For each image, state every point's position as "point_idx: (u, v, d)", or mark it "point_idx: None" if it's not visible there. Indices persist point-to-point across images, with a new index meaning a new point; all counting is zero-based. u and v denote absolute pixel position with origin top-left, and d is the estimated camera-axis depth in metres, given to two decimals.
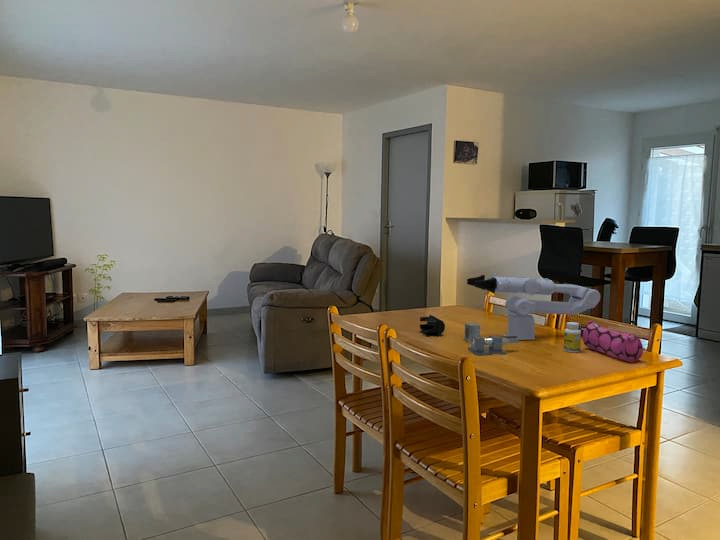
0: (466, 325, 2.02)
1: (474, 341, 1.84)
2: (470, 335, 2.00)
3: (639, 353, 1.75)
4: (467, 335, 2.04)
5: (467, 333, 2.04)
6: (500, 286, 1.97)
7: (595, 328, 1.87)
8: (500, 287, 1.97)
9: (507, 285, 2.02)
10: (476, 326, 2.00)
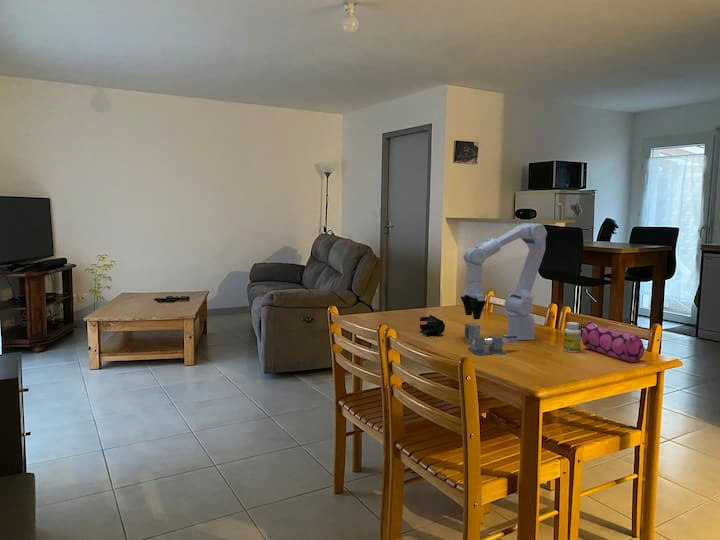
0: (466, 325, 2.02)
1: (474, 341, 1.84)
2: (470, 335, 2.00)
3: (640, 353, 1.75)
4: (467, 335, 2.04)
5: (467, 333, 2.04)
6: (481, 298, 1.94)
7: (595, 328, 1.87)
8: (482, 298, 1.94)
9: (476, 283, 1.97)
10: (476, 326, 2.00)
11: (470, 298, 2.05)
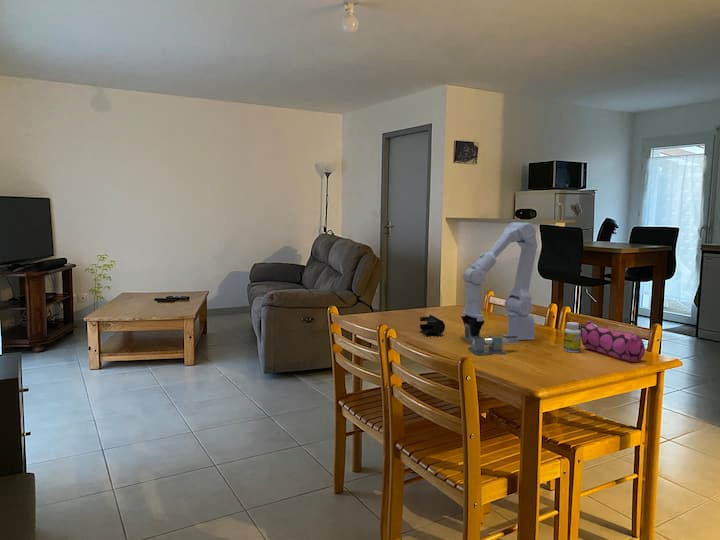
0: (466, 325, 2.02)
1: (474, 341, 1.84)
2: (470, 335, 2.00)
3: (641, 353, 1.75)
4: (467, 335, 2.04)
5: (467, 333, 2.04)
6: (480, 318, 1.94)
7: (595, 328, 1.87)
8: (481, 318, 1.94)
9: (476, 303, 1.98)
10: None
11: (471, 318, 2.04)
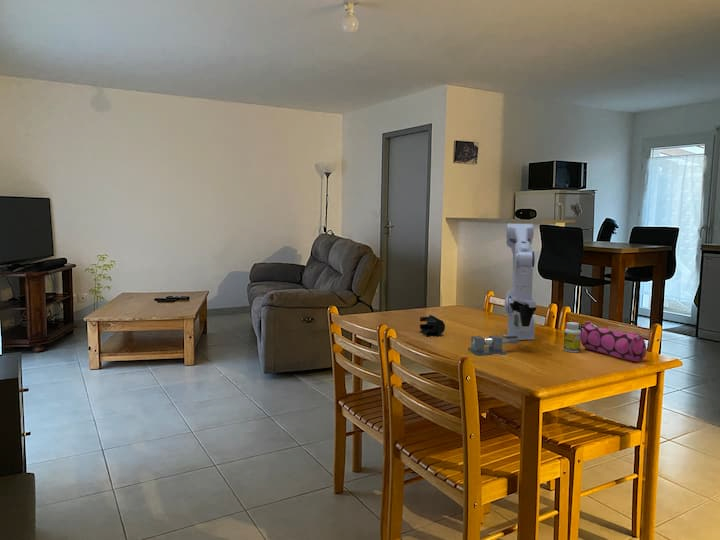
0: (515, 312, 1.90)
1: (474, 341, 1.84)
2: (520, 323, 1.87)
3: (644, 352, 1.76)
4: (516, 323, 1.91)
5: (516, 321, 1.91)
6: (533, 304, 1.82)
7: (595, 329, 1.87)
8: (534, 304, 1.82)
9: (527, 288, 1.85)
10: None
11: (520, 305, 1.92)
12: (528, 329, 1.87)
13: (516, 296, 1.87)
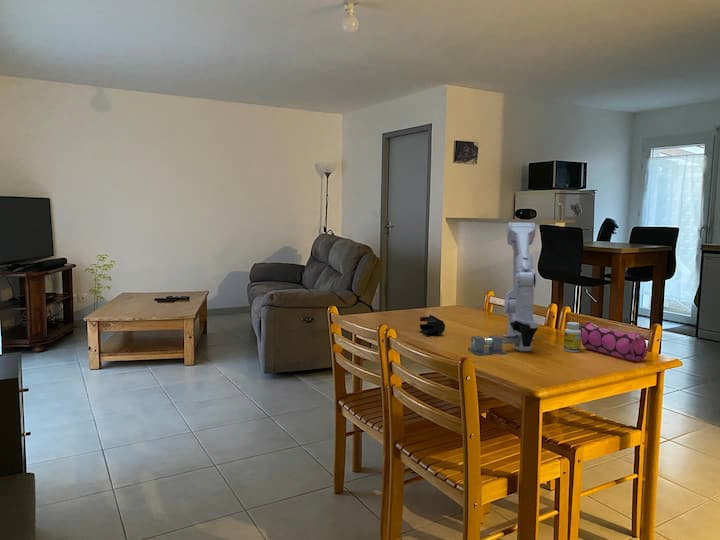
0: (516, 332, 1.89)
1: (474, 341, 1.84)
2: (521, 343, 1.86)
3: (645, 352, 1.76)
4: (517, 343, 1.90)
5: None
6: (534, 325, 1.81)
7: (596, 329, 1.87)
8: (535, 325, 1.81)
9: (528, 309, 1.85)
10: None
11: (521, 324, 1.91)
12: (529, 349, 1.87)
13: (517, 316, 1.87)
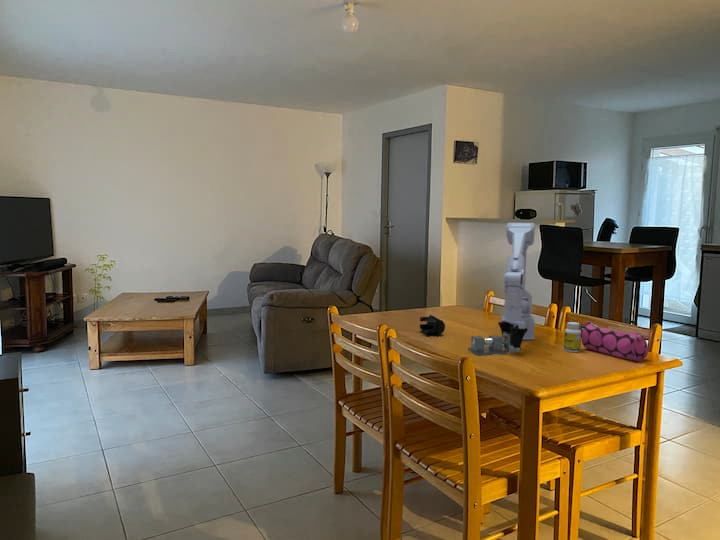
0: (505, 334, 1.88)
1: (474, 341, 1.84)
2: (510, 345, 1.85)
3: (645, 352, 1.76)
4: (506, 344, 1.89)
5: None
6: (522, 325, 1.80)
7: (596, 329, 1.87)
8: (523, 325, 1.80)
9: (517, 309, 1.84)
10: None
11: (508, 324, 1.91)
12: (518, 351, 1.86)
13: (506, 316, 1.86)
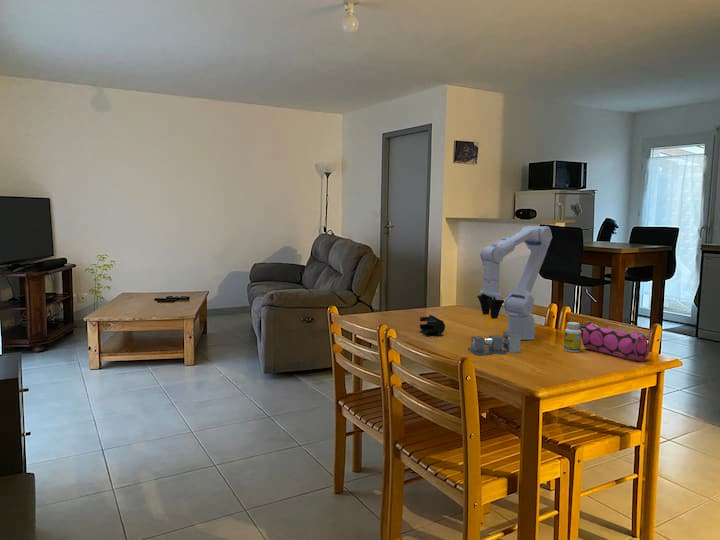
0: (505, 334, 1.88)
1: (474, 341, 1.84)
2: (510, 345, 1.85)
3: (647, 352, 1.77)
4: (506, 344, 1.89)
5: None
6: (499, 297, 1.91)
7: (597, 329, 1.87)
8: (500, 297, 1.91)
9: (494, 282, 1.94)
10: (516, 335, 1.85)
11: (487, 297, 2.02)
12: (518, 351, 1.86)
13: (484, 289, 1.96)
